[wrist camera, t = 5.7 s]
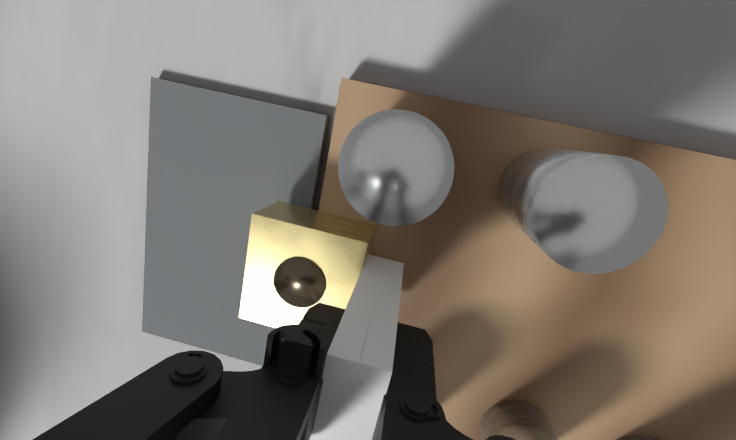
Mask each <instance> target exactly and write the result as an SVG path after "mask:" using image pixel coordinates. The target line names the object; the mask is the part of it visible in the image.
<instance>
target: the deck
mask: <svg viewBox="0 0 736 440" xmlns="http://www.w3.org/2000/svg"><path fill="white" fill-rule="evenodd" d="M392 109H401V110H408V111H412V112H415V113H418V114H420V115H422V116H424V117H426V118H428V119H429V120H431V121H432V122H433V123H434V124H435V125H437V126H438V128H439V129H440V130H441V131H442V132H443V134H444V135H445V137H446V138H447V140H448V142H449V144H450V147H451V150H452V153H453V158H454V177H453V182H452V185H451V188H450V191H449V193H448V195H447V197H446V199H445V200H444V201H443V203H442V204H441V205H440V206H439V208H438V209H437V210H436V211H434V212H433V213H432V214H431V215H429V216H428V217H426V218H425V219H423V220H421V221H419V222H416V223H413V224H410V225H405V226H387V225H382V224H378V223H375V222H373V221H371V220H369V219H367V218H365V217H364V216H362V215H361V214H360V213H359V212H357V211H356V210H355V209H354V208H353V207H352V205H351V204H350V203H349V201H348V200H347V198H346V197H345V195H344V193H343V190H342V188H341V185H340V181H339V175H338V161H339V155H340V151H341V148H342V146H343V143H344V141H345V140H346V138H347V136H348V135H349V133H350V132H351V131H352V129H353V128H354V127H355V126H356V125H357V124H359V123H360V122H361V121H362V120H364V119H365V118H367V117H369V116H370V115H373V114H375V113H377V112H381V111H385V110H392ZM537 148H557V149H566V150H575V151H583V152H592V153H601V154H610V155H618V156H624V157H628V158H631V159H634V160H636V161H639V162H641V163H642V164H644V165H645V166H647V167H648V168H649V169H651V170H652V171H653V172H654V173H655V174H656V175H657V177H658V178H659V179H660V181H661V183H662V184H663V186H664V189H665V191H666V195H667V199H668V216H667V220H666V224H665V227H664V229H663V232H662V234H661V235H660V237H659V239H658V240H657V242H656V243H655V245H654V246H653V247H652V248H651V249H650V250H649V251H648V252H647V253H646V254H645V255H644V256H643V257H641V258H640V259H638V260H637V261H635V262H634V263H632V264H630V265H628V266H626V267H624V268H621V269H619V270H615V271H612V272H607V273H599V274H588V273H581V272H576V271H573V270H569V269H567V268H565V267H563V266H561V265H559V264H558V263H556V262H555V261H554V260H552V259H551V258H550V257H549V256H548V255H547V254H546V253H545V252H544V251H543V250H542V249H541V248H539V247H538V246H537V245H536V244H535V243H534V242H533V241H532V240H531V239H530V238H529V237H528V236H527V235H526V234H525V233H524V232H523V231H522V230H521V229H519V228H518V227H517V226H516V225H515V224H514V223H513V222H512V221H511V220H510V219H509V218H508V217H507V216H506V215H505V213H504V212H503V210H502V208H501V206H500V203H499V199H498V185H499V181H500V178H501V176H502V174H503V172H504V170H505V169H506V167H507V166H508V165H509V164H510V163H511V162H512V161H513V160H514V159H515V158H516V157H518V156H519V155H521V154H523V153H525V152H527V151H529V150H532V149H537ZM318 211H322V212H326V213H330V214H334V215H338V216H342V217H346V218H350V219H354V220H358V221H362V222H366V223H370V224H374V225H377V227H376V231H375V236H374V240H373V244H372V249H371V253H370V255H373V256H377V257H381V258H385V259H389V260H393V261H397V262H401V263H404V269H403V278H402V287H401V296H400V306H399V315H398V322H399V323H402V324H406V325H410V326H414V327H417V328H421V329H425V330H426V331H427V333H428V334H429V336H430V338H431V339H432V341H433V355H434V369H435V384H436V398H437V401H438V402H439V404H440V405H441V406H442V408H443V411H444V414H445V417H446V420H447V421H448V422H449V423H450V424H451V425H452V426H453V427H454V428H455V429H457V430H458V431H460V432H461V433H463V434H464V435H466V436H468V437H469V438H471V439H473V440H482V439H481V434H480V421H481V418H482V416H483V415H484V413H485V412H486V411H487V410H488V409H489V408H490V407H492V406H493V405H495V404H497V403H500V402H503V401H509V400H519V401H525V402H528V403H531V404H533V405H535V406H537V407H539V408H540V409H541V410H543V411H544V413H545V414H546V415H547V416H548V418H549V420H550V422H551V424H552V426H553V429H554V431H555V433H556V435H557V437H558V440H616V439H618V438H621V437H624V436H629V435H647V436H652V437H655V438H658V439H660V440H736V160H734V159H729V158H724V157H720V156H715V155H710V154H705V153H700V152H696V151H691V150H686V149H681V148H676V147H672V146H667V145H662V144H657V143H652V142H648V141H643V140H638V139H633V138H628V137H623V136H619V135H614V134H609V133H604V132H599V131H595V130H590V129H585V128H580V127H575V126H571V125H566V124H561V123H556V122H551V121H547V120H542V119H537V118H532V117H527V116H523V115H518V114H513V113H508V112H503V111H499V110H494V109H489V108H484V107H479V106H475V105H470V104H465V103H460V102H455V101H451V100H446V99H441V98H436V97H431V96H427V95H422V94H417V93H412V92H407V91H403V90H398V89H393V88H388V87H383V86H379V85H374V84H369V83H364V82H359V81H355V80H350V79H345V78H342V79H341V85H340V90H339V96H338V102H337V107H336V113H335V119H334V124H333V130H332V136H331V142H330V147H329V153H328V159H327V164H326V170H325V176H324V181H323V187H322V193H321V199H320V204H319V210H318Z"/></svg>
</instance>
